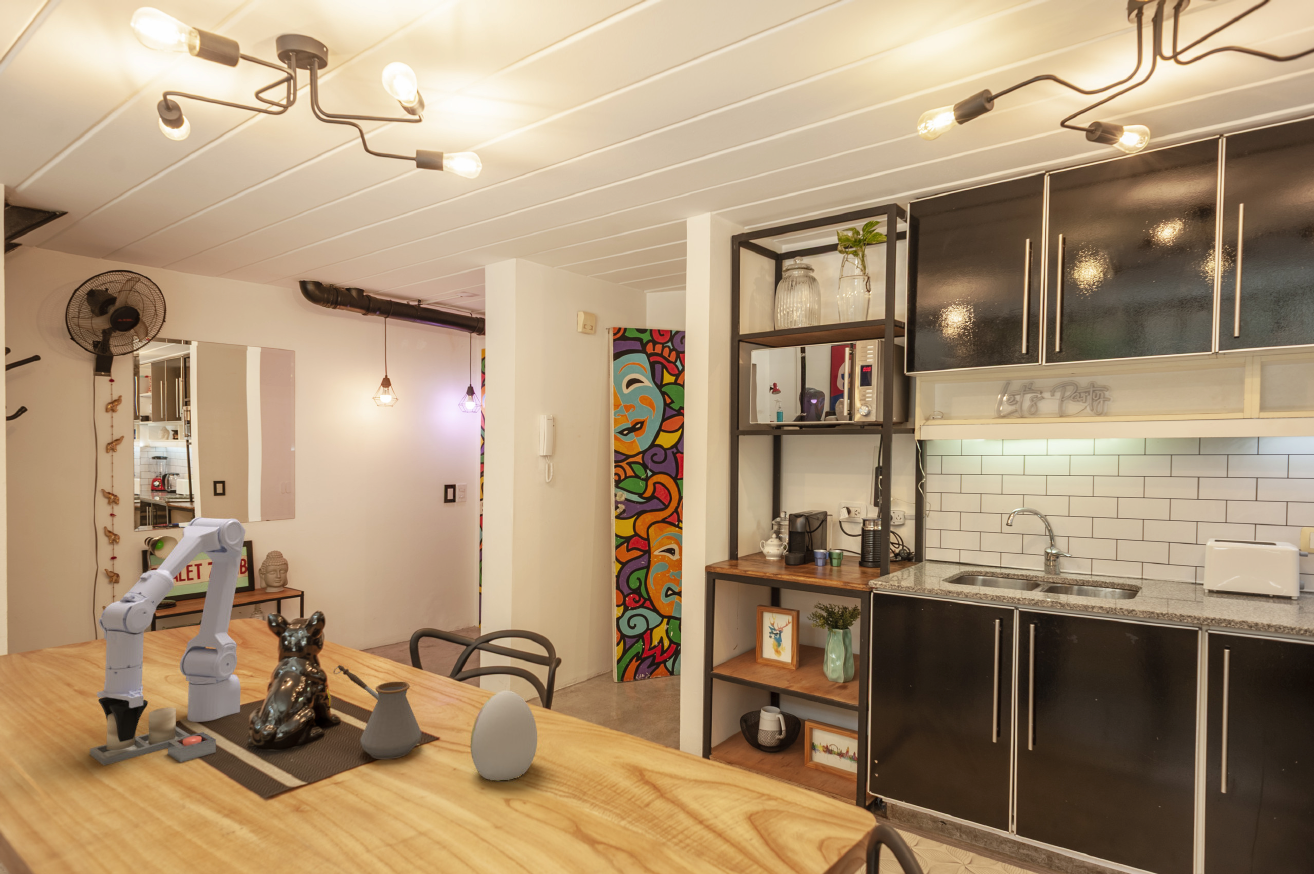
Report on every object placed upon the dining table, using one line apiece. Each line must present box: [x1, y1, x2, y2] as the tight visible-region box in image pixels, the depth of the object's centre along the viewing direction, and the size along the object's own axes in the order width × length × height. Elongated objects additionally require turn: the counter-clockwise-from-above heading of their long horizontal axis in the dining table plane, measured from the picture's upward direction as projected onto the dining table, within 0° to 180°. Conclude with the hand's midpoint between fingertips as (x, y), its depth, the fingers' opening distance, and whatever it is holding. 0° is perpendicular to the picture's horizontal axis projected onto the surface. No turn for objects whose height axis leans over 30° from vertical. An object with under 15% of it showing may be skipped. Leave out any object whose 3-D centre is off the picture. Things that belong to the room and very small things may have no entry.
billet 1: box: [106, 713, 136, 750], centre depth 137 cm, size 4×4×6 cm
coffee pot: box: [333, 664, 422, 760], centre depth 146 cm, size 21×12×15 cm, turn 65°
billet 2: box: [148, 707, 177, 745], centre depth 143 cm, size 4×4×6 cm
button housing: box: [167, 731, 217, 763], centre depth 138 cm, size 6×6×4 cm
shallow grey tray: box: [89, 726, 191, 766], centre depth 140 cm, size 14×8×2 cm, turn 143°
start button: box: [183, 736, 202, 746], centre depth 138 cm, size 3×3×2 cm
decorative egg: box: [470, 690, 538, 781], centre depth 135 cm, size 12×12×15 cm
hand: (121, 736), depth 138 cm, fingers closed on billet 1, 4 cm apart
